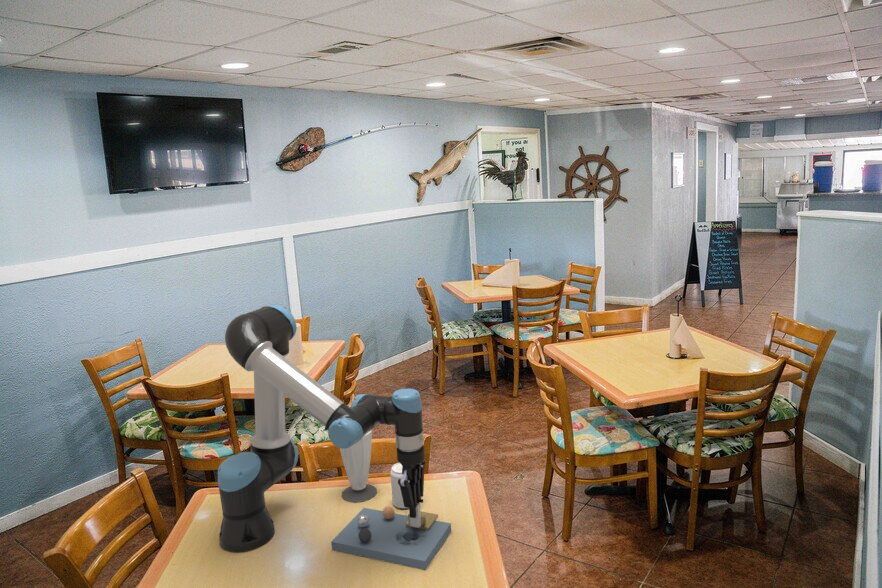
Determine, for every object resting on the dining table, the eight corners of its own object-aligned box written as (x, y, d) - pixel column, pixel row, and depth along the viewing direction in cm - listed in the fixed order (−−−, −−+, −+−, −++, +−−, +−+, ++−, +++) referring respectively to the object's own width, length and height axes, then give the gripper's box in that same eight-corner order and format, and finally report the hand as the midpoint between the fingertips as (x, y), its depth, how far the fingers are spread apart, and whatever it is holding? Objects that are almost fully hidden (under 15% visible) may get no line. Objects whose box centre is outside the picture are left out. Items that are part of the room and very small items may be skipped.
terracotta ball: (380, 520, 176) (379, 509, 175) (386, 514, 179) (385, 503, 178) (391, 522, 174) (390, 511, 174) (397, 516, 177) (396, 505, 177)
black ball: (356, 543, 165) (355, 532, 164) (363, 536, 168) (361, 525, 168) (367, 546, 164) (366, 534, 163) (374, 538, 167) (373, 527, 166)
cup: (364, 480, 204) (359, 419, 200) (384, 493, 196) (379, 429, 192) (334, 493, 197) (328, 430, 193) (353, 506, 189) (347, 441, 184)
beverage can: (415, 510, 184) (412, 474, 182) (389, 509, 186) (386, 472, 184) (421, 496, 192) (419, 461, 190) (396, 495, 194) (394, 460, 191)
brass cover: (405, 526, 172) (404, 513, 171) (416, 513, 178) (415, 501, 177) (428, 530, 169) (427, 517, 168) (438, 516, 176) (437, 504, 175)
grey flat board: (331, 549, 167) (331, 541, 167) (364, 515, 184) (363, 507, 183) (425, 570, 157) (424, 561, 156) (451, 531, 173) (450, 523, 172)
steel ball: (354, 529, 172) (353, 517, 171) (361, 522, 175) (360, 511, 175) (365, 531, 171) (364, 519, 170) (371, 524, 174) (370, 513, 173)
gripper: (412, 458, 158) (418, 541, 162) (432, 437, 170) (437, 515, 174) (386, 455, 161) (393, 536, 165) (408, 434, 172) (413, 511, 177)
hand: (415, 525), depth 170 cm, fingers closed
